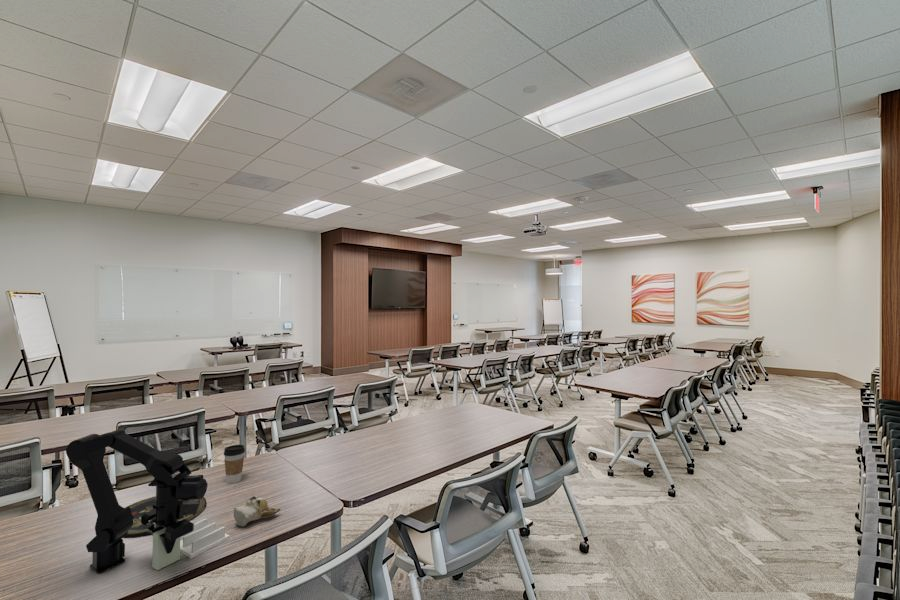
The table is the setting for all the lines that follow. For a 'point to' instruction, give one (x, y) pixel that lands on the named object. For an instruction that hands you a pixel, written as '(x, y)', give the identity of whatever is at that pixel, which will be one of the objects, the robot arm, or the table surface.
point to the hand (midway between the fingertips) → (166, 551)
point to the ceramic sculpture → (253, 511)
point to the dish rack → (202, 538)
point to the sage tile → (163, 551)
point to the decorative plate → (142, 530)
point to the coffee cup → (234, 463)
